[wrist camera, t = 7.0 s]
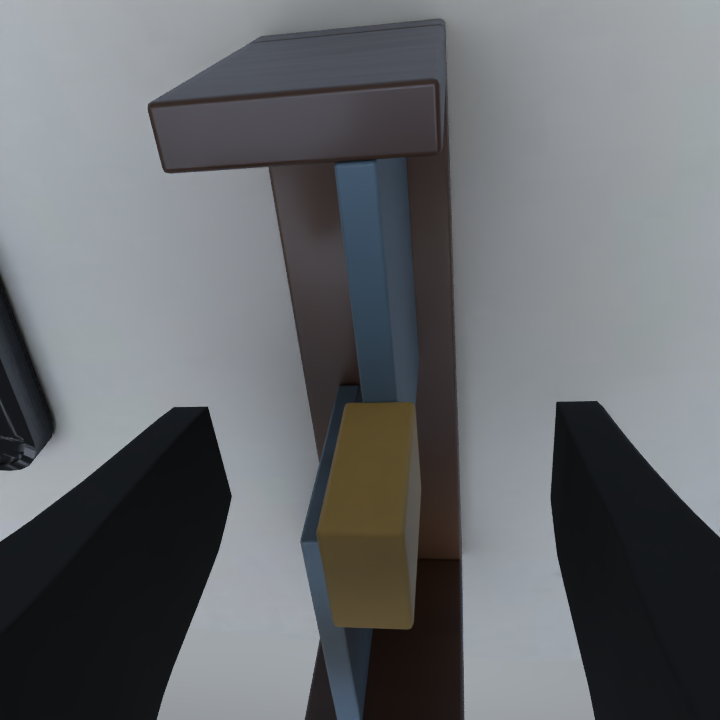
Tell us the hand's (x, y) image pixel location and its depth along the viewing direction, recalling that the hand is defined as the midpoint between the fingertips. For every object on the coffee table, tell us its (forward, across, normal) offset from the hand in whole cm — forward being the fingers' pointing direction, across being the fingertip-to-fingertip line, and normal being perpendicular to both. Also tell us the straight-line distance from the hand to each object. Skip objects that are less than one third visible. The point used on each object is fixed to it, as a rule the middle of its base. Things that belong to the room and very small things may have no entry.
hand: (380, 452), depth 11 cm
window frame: (+7, +1, +2) cm, 7 cm away
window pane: (+6, 0, -1) cm, 6 cm away
